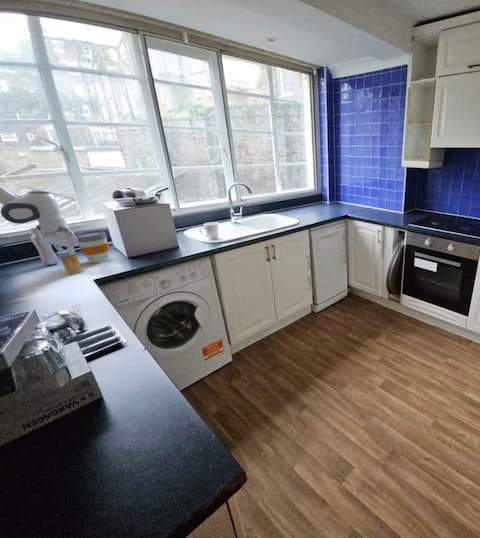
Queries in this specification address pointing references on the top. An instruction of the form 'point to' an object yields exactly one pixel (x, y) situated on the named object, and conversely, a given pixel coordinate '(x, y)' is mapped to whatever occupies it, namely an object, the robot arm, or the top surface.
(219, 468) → the top surface
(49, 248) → the plastic bottle
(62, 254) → the jar lid
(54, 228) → the robot arm
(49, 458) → the top surface
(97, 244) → the reusable coffee cup
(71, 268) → the jar
